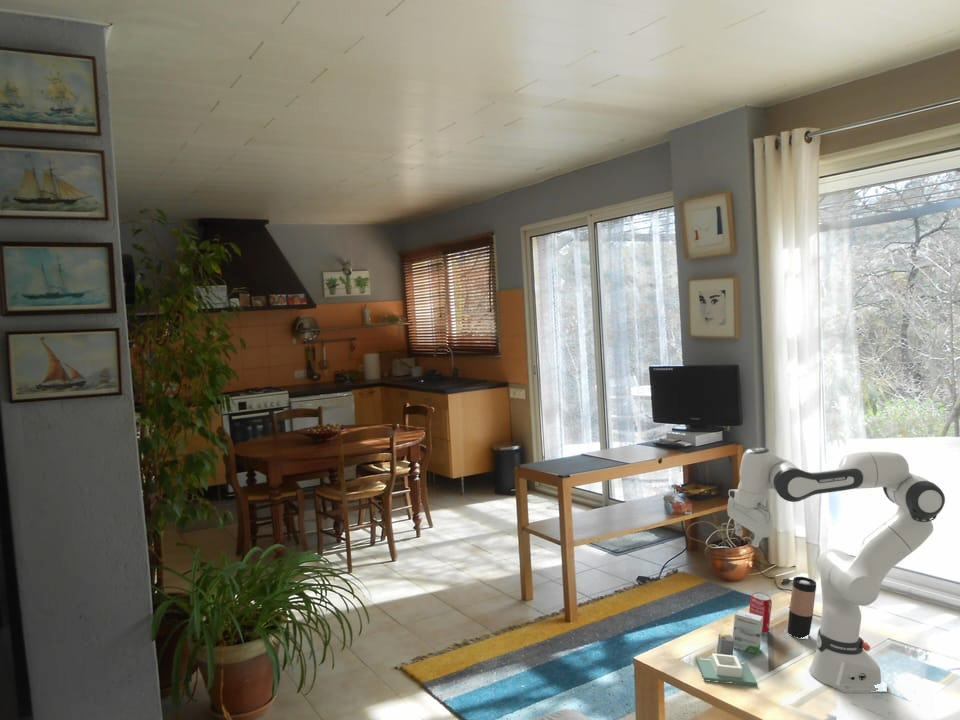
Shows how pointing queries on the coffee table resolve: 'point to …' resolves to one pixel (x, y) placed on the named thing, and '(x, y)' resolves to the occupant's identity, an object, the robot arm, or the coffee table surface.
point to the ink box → (747, 631)
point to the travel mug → (801, 606)
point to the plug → (725, 644)
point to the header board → (726, 670)
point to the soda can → (761, 608)
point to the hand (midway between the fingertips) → (746, 540)
